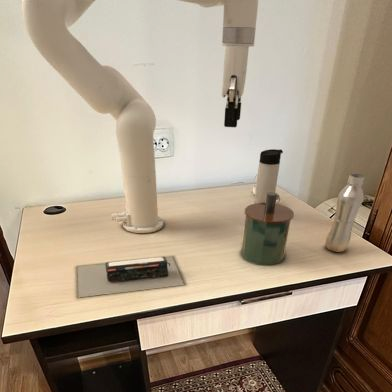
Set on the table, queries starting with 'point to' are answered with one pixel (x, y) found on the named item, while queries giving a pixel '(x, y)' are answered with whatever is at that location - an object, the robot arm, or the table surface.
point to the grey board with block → (127, 276)
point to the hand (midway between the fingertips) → (232, 123)
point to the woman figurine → (276, 199)
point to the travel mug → (267, 174)
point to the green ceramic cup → (264, 242)
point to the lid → (269, 211)
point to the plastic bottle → (345, 213)
